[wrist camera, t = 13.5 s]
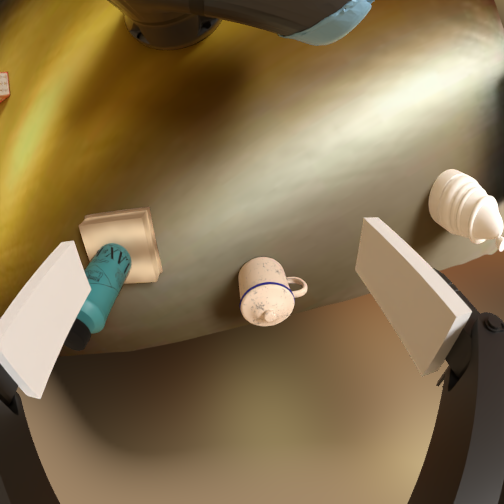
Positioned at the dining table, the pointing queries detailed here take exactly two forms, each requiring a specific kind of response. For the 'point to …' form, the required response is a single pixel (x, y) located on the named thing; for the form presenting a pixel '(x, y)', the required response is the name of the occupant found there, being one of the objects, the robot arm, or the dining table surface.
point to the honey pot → (465, 208)
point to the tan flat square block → (125, 240)
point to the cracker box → (4, 86)
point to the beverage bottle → (99, 293)
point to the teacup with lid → (266, 292)
